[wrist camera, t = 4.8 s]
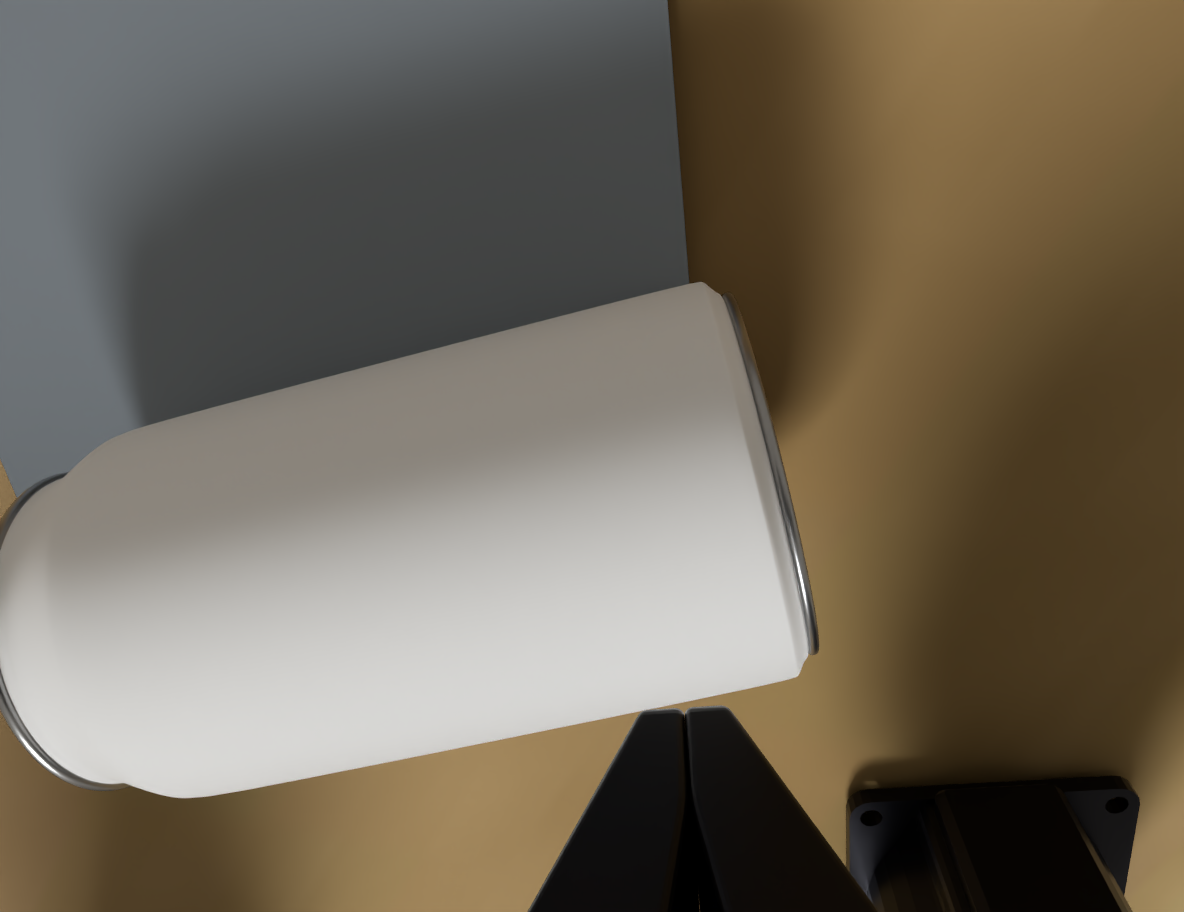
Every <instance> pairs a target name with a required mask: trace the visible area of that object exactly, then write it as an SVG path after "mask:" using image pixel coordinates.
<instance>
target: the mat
mask: <svg viewBox="0 0 1184 912" xmlns="http://www.w3.org/2000/svg"><path fill="white" fill-rule="evenodd" d="M687 284H689V273H688V260H687V247H686V234H685V221H684V208H683V195H682V182H681V169H680V156H679V143H678V130H677V118H676V105H675V92H674V79H673V66H672V53H671V40H670V27H669V14H668V1H667V0H0V459H1V462H2V464H3V466H4V469H5V471H6V473H7V476H8V478H9V480H10V483H11V485H12V487H13V490H14V492H15V494H16V497H17V498H18V497H19V496H20V495H21V494H22V493H23V492H24V491H25V490H26V489H28V488H29V487H30V486H32V485H34V484H35V483H37V482H39V481H40V480H42V479H45V478H47V477H49V476H52V475H56V474H59V473H65V472H70V471H71V470H72V469H73V468H74V467H75V466H76V465H77V464H78V463H79V462H80V461H81V460H82V459H84V458H85V457H86V456H87V455H88V454H89V453H91V452H92V451H93V450H94V449H96V448H97V447H99V446H100V445H101V444H103V443H105V442H106V441H108V440H110V439H112V438H114V437H116V436H119V435H121V434H124V433H126V432H129V431H132V430H134V429H138V428H141V427H144V426H148V425H151V424H155V423H158V422H161V421H165V420H168V419H172V418H176V417H179V416H183V415H187V414H190V413H194V412H198V411H201V410H205V409H209V408H212V407H216V406H220V405H224V404H227V403H231V402H235V401H239V400H242V399H246V398H250V397H254V396H258V395H261V394H265V393H269V392H273V391H276V390H280V389H284V388H288V387H291V386H295V385H299V384H303V383H306V382H310V381H314V380H318V379H322V378H325V377H329V376H333V375H337V374H341V373H344V372H348V371H352V370H356V369H360V368H363V367H367V366H371V365H375V364H379V363H382V362H386V361H390V360H394V359H398V358H401V357H405V356H409V355H413V354H417V353H421V352H424V351H428V350H432V349H436V348H440V347H444V346H447V345H451V344H455V343H459V342H463V341H467V340H470V339H474V338H478V337H482V336H486V335H490V334H493V333H497V332H501V331H505V330H509V329H513V328H516V327H520V326H524V325H528V324H532V323H536V322H540V321H544V320H547V319H551V318H555V317H559V316H563V315H567V314H571V313H575V312H578V311H582V310H586V309H590V308H594V307H598V306H602V305H606V304H610V303H614V302H617V301H621V300H625V299H629V298H633V297H637V296H641V295H645V294H649V293H653V292H657V291H661V290H665V289H670V288H674V287H678V286H682V285H687Z"/></svg>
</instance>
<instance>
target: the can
mask: <svg viewBox="0 0 1184 912" xmlns="http://www.w3.org/2000/svg"><path fill="white" fill-rule="evenodd" d="M818 651H819V635H818V627H817V619H816V613H815V607H814V602H813V596H812V591H811V586H810V581H809V576H808V571H807V566H806V562H805V557H804V552H803V548H802V543H801V538H800V534H799V529H798V525H797V521H796V516H795V512H794V508H793V503H792V499H791V495H790V491H789V486H788V482H787V478H786V474H785V470H784V466H783V462H782V458H781V454H780V450H779V446H778V442H777V438H776V434H775V430H774V426H773V422H772V418H771V414H770V411H769V407H768V403H767V399H766V396H765V392H764V388H763V385H762V381H761V377H760V374H759V370H758V367H757V363H756V360H755V356H754V353H753V350H752V346H751V343H750V340H749V336H748V333H747V330H746V327H745V324H744V321H743V318H742V315H741V312H740V309H739V307H738V304H737V302H736V300H735V298H734V296H733V294H732V293H729V292H727V293H724V294H723V296H721V295H720V294H719V293H717V292H715V291H714V290H712V289H711V288H710V287H709V286H708V285H707V284H705V283H704V282H697V283H691V284H687V285H682V286H678V287H674V288H670V289H665V290H661V291H657V292H653V293H649V294H645V295H641V296H637V297H633V298H629V299H625V300H621V301H617V302H614V303H610V304H606V305H602V306H598V307H594V308H590V309H586V310H582V311H578V312H575V313H571V314H567V315H563V316H559V317H555V318H551V319H547V320H544V321H540V322H536V323H532V324H528V325H524V326H520V327H516V328H513V329H509V330H505V331H501V332H497V333H493V334H490V335H486V336H482V337H478V338H474V339H470V340H467V341H463V342H459V343H455V344H451V345H447V346H444V347H440V348H436V349H432V350H428V351H424V352H421V353H417V354H413V355H409V356H405V357H401V358H398V359H394V360H390V361H386V362H382V363H379V364H375V365H371V366H367V367H363V368H360V369H356V370H352V371H348V372H344V373H341V374H337V375H333V376H329V377H325V378H322V379H318V380H314V381H310V382H306V383H303V384H299V385H295V386H291V387H288V388H284V389H280V390H276V391H273V392H269V393H265V394H261V395H258V396H254V397H250V398H246V399H242V400H239V401H235V402H231V403H227V404H224V405H220V406H216V407H212V408H209V409H205V410H201V411H198V412H194V413H190V414H187V415H183V416H179V417H176V418H172V419H168V420H165V421H161V422H158V423H155V424H151V425H148V426H144V427H141V428H138V429H134V430H132V431H129V432H126V433H124V434H121V435H119V436H116V437H114V438H112V439H110V440H108V441H106V442H105V443H103V444H101V445H100V446H99V447H97V448H96V449H94V450H93V451H92V452H91V453H89V454H88V455H87V456H86V457H85V458H84V459H82V460H81V461H80V462H79V463H78V464H77V465H76V466H75V467H74V468H73V469H72V470H71V471H70V472H65V473H59V474H56V475H52V476H49V477H47V478H45V479H42V480H40V481H39V482H37V483H35V484H34V485H32V486H30V487H29V488H28V489H26V490H25V491H24V492H23V493H22V494H21V495H20V496H19V497H18V498H17V499H16V500H15V501H14V502H13V503H12V504H11V505H10V507H9V508H8V509H7V511H6V512H5V514H4V515H3V517H2V518H1V520H0V710H1V712H2V714H3V716H4V718H5V720H6V722H7V723H8V725H9V727H10V728H11V730H12V732H13V733H14V735H15V736H16V738H17V739H18V740H19V742H20V743H21V744H22V746H23V747H24V748H25V749H26V750H27V751H28V753H29V754H30V755H31V756H32V757H33V758H34V759H35V760H36V761H37V762H38V763H39V764H40V765H42V766H43V767H44V768H45V769H46V770H48V771H49V772H50V773H52V774H53V775H55V776H56V777H58V778H60V779H62V780H63V781H65V782H68V783H70V784H72V785H75V786H78V787H81V788H84V789H89V790H96V791H112V790H119V789H123V788H127V787H130V786H134V787H137V788H139V789H142V790H145V791H149V792H152V793H156V794H159V795H164V796H169V797H176V798H195V797H207V796H214V795H220V794H226V793H232V792H238V791H243V790H248V789H254V788H259V787H264V786H269V785H275V784H280V783H285V782H290V781H295V780H300V779H306V778H311V777H316V776H321V775H326V774H331V773H336V772H341V771H346V770H351V769H356V768H361V767H366V766H371V765H376V764H381V763H386V762H391V761H396V760H401V759H406V758H411V757H416V756H421V755H426V754H431V753H436V752H441V751H446V750H451V749H456V748H461V747H466V746H471V745H476V744H481V743H486V742H491V741H496V740H501V739H506V738H511V737H516V736H521V735H525V734H530V733H535V732H540V731H545V730H550V729H555V728H560V727H565V726H570V725H575V724H580V723H585V722H590V721H594V720H599V719H604V718H609V717H614V716H619V715H624V714H629V713H633V712H638V711H643V710H648V709H653V708H658V707H663V706H668V705H672V704H677V703H682V702H687V701H692V700H697V699H701V698H706V697H711V696H716V695H720V694H725V693H730V692H734V691H739V690H744V689H749V688H753V687H758V686H762V685H767V684H771V683H775V682H780V681H784V680H788V679H791V678H795V677H797V676H798V675H799V673H800V671H801V668H802V666H803V663H804V661H805V660H806V658H807V657H808V653H809V654H810V655H815V654H817V653H818Z"/></svg>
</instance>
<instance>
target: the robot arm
mask: <svg viewBox="0 0 1184 912" xmlns="http://www.w3.org/2000/svg"><path fill="white" fill-rule="evenodd" d="M1115 797H1116V798H1115ZM1112 798H1114V799H1112ZM1110 799H1111V800H1110ZM1139 806H1140V801H1139V797H1138V795H1137V794H1136V792H1135V790H1134V789H1133V787H1132V786H1131V784H1130V783H1129V782H1128V780H1126V779H1124V778H1122V777H1120V776H1099V777H1081V778H1063V779H1045V780H1027V781H1009V782H991V783H973V784H955V785H937V786H919V787H901V788H883V789H867V790H862V791H859V792H857V793H855V794H853V795H852V796H851V797H850V798H849V799H848V801H847V805H846V866H845V865H844V864H843V862H842V861H841V860H840V858H839V857H838V856H837V854H836V853H835V852H834V850H833V849H832V847H831V846H830V845H829V843H828V842H827V841H826V839H825V838H824V837H823V835H822V834H821V832H820V831H819V830H818V828H817V827H816V826H815V824H814V823H813V822H812V820H811V819H810V817H809V816H808V815H807V813H806V812H805V811H804V809H803V808H802V807H801V805H800V804H799V803H798V801H797V800H796V798H795V797H794V796H793V794H792V793H791V792H790V790H789V789H788V788H787V786H786V785H785V783H784V782H783V781H782V779H781V778H780V777H779V775H778V774H777V773H776V771H775V770H774V768H773V767H772V766H771V764H770V763H769V762H768V760H767V759H766V758H765V756H764V755H763V754H762V752H761V751H760V749H759V748H758V747H757V745H756V744H755V743H754V741H753V740H752V739H751V737H750V736H749V734H748V733H747V732H746V730H745V729H744V728H743V726H742V725H741V724H740V722H739V721H738V719H737V718H736V717H735V715H734V714H733V713H732V712H731V710H730V709H729V708H727V707H725V706H707V707H692V708H689V709H687V710H686V712H685V718H684V713H683V712H682V711H681V710H680V709H677V708H672V709H655V710H645V711H642V712H641V713H640V714H639V715H638V717H637V718H636V720H635V722H634V724H633V725H632V727H631V729H630V731H629V732H628V734H627V736H626V738H625V740H624V741H623V743H622V745H621V747H620V748H619V750H618V752H617V754H616V755H615V757H614V759H613V761H612V763H611V764H610V766H609V768H608V770H607V771H606V773H605V775H604V777H603V779H602V780H601V782H600V784H599V786H598V787H597V789H596V791H595V793H594V795H593V796H592V798H591V800H590V802H589V803H588V805H587V807H586V809H585V811H584V812H583V814H582V816H581V818H580V819H579V821H578V823H577V825H576V827H575V828H574V830H573V832H572V834H571V835H570V837H569V839H568V841H567V843H566V844H565V846H564V848H563V850H562V851H561V853H560V855H559V857H558V859H557V860H556V862H555V864H554V866H553V867H552V869H551V871H550V873H549V874H548V876H547V878H546V880H545V882H544V883H543V885H542V887H541V889H540V890H539V892H538V894H537V896H536V898H535V899H534V901H533V903H532V905H531V906H530V908H529V910H528V912H1132V910H1131V908H1130V906H1129V904H1128V902H1127V901H1126V899H1125V897H1124V893H1125V887H1126V882H1127V876H1128V870H1129V864H1130V858H1131V853H1132V847H1133V841H1134V835H1135V829H1136V824H1137V818H1138V812H1139ZM869 810H875V811H873V812H870V813H864V812H866V811H869ZM698 894H699V895H698ZM699 905H700V909H699Z"/></svg>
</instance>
